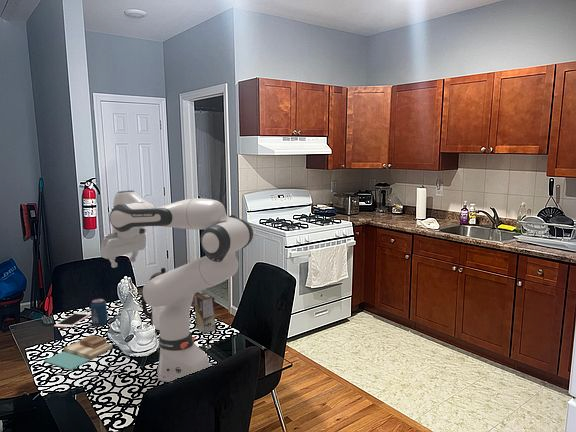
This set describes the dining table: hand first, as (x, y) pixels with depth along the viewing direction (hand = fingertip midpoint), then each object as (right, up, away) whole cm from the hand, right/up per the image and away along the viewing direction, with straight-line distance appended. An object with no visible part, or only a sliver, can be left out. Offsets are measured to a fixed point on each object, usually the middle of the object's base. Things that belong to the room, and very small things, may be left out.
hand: (123, 264), depth 169 cm
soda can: (-27, -34, +38) cm, 57 cm away
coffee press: (+6, -35, +32) cm, 48 cm away
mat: (-23, -39, +1) cm, 46 cm away
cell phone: (-42, -33, +43) cm, 69 cm away
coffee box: (+26, -35, +33) cm, 54 cm away
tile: (-18, -36, +12) cm, 42 cm away
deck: (-19, -38, +10) cm, 43 cm away
